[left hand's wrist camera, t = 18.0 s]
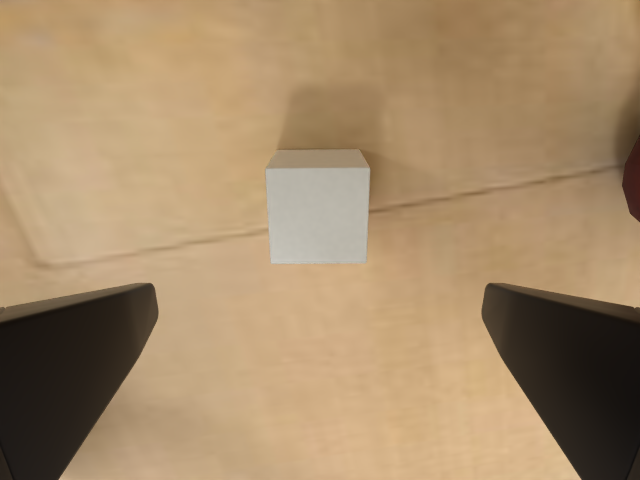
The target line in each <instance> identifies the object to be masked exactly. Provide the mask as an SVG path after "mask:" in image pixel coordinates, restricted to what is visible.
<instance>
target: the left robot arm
mask: <svg viewBox="0 0 640 480" xmlns="http://www.w3.org/2000/svg"><path fill="white" fill-rule="evenodd" d="M157 319H158V305H157V299H156V293H155V288H154V286H153V284H151V283H135V284H130V285H124V286H119V287H113V288H108V289H103V290H97V291H92V292H86V293H81V294H75V295H70V296H64V297H59V298H53V299H48V300H42V301H37V302H32V303H26V304H21V305H15V306H10V307H6V309H5V308H4V307H1V308H0V480H59V478H60V477H61V475H62V474H63V472H64V471H65V469H66V468H67V466H68V464H69V463H70V461H71V460H72V458H73V457H74V455H75V454H76V452H77V451H78V449H79V448H80V446H81V445H82V443H83V442H84V440H85V439H86V437H87V436H88V434H89V433H90V431H91V430H92V428H93V427H94V425H95V424H96V422H97V421H98V419H99V417H100V416H101V414H102V413H103V411H104V410H105V408H106V407H107V405H108V404H109V402H110V401H111V399H112V398H113V396H114V395H115V393H116V392H117V390H118V389H119V387H120V386H121V384H122V383H123V381H124V380H125V378H126V377H127V375H128V373H129V372H130V370H131V369H132V367H133V366H134V364H135V363H136V361H137V359H138V358H139V356H140V354H141V352H142V350H143V348H144V346H145V344H146V342H147V340H148V338H149V336H150V334H151V332H152V330H153V328H154V326H155V324H156V322H157ZM482 319H483V322H484V324H485V326H486V328H487V330H488V332H489V334H490V336H491V338H492V340H493V342H494V344H495V346H496V348H497V350H498V352H499V354H500V356H501V358H502V359H503V361H504V363H505V364H506V366H507V367H508V369H509V370H510V372H511V373H512V375H513V376H514V378H515V380H516V381H517V383H518V384H519V386H520V387H521V389H522V390H523V392H524V393H525V395H526V396H527V398H528V399H529V401H530V402H531V404H532V405H533V407H534V408H535V410H536V411H537V413H538V414H539V416H540V417H541V419H542V420H543V422H544V423H545V425H546V426H547V428H548V430H549V431H550V433H551V434H552V436H553V437H554V439H555V440H556V442H557V443H558V445H559V446H560V448H561V449H562V451H563V452H564V454H565V455H566V457H567V458H568V460H569V461H570V463H571V464H572V466H573V467H574V469H575V471H576V472H577V474H578V475H579V477H580V478H581V480H640V308H639V307H636V308H635V309H634V308H633V307H631V306H625V305H620V304H614V303H609V302H603V301H598V300H592V299H587V298H581V297H576V296H570V295H565V294H559V293H554V292H549V291H543V290H538V289H532V288H527V287H521V286H516V285H510V284H505V283H489V284H487V286H486V288H485V293H484V299H483V305H482Z"/></svg>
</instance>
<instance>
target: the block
mask: <svg viewBox="0 0 640 480" xmlns="http://www.w3.org/2000/svg"><path fill="white" fill-rule="evenodd" d="M265 174H266V192H267V210H268V227H269V245H270V263H271V264H334V263H366V262H367V241H368V215H369V189H370V167H369V165H368V163H367V162H366V160H365V158H364V156H363V155H362V153H361V151H360V150H359V149H315V150H276V152H275V153H274V155H273V157H272V158H271V160H270V162H269V163H268V165H267V167H266V169H265Z"/></svg>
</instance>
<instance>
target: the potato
mask: <svg viewBox="0 0 640 480" xmlns="http://www.w3.org/2000/svg"><path fill="white" fill-rule="evenodd" d="M622 187H623V190H624V194H625V197H626V200H627V204H628V207H629V211H630V214H631V215H632V216H634V217H635V218H636V219H637V220H638V221H639V222H640V136H639V138H638V140H637V142H636V144H635V146H634V148H633V150H632V152H631V154H630V156H629V158H628V160H627V162H626V164H625V170H624V177H623V183H622Z"/></svg>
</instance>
